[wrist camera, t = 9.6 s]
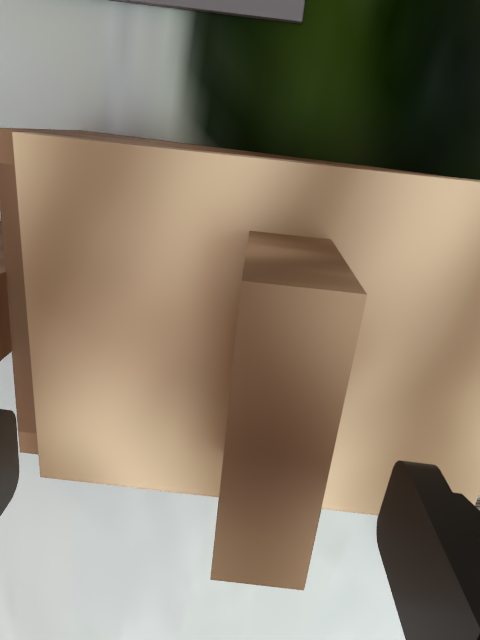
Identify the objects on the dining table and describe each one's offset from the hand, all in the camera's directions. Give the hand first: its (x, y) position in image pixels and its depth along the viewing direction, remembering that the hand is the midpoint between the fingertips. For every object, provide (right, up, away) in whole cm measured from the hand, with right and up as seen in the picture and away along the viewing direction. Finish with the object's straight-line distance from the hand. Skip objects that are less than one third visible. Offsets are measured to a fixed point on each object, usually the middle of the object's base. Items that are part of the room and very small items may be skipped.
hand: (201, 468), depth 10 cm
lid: (+2, +2, +6) cm, 7 cm away
